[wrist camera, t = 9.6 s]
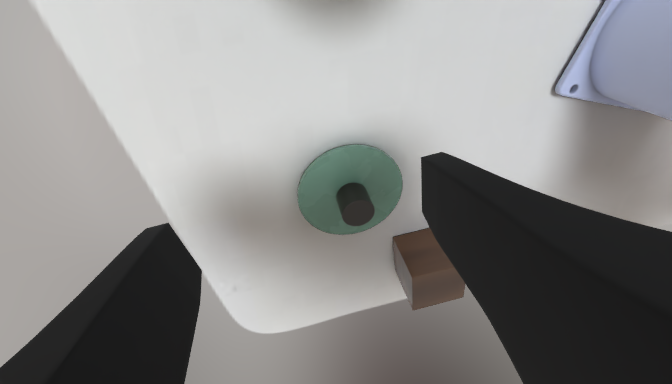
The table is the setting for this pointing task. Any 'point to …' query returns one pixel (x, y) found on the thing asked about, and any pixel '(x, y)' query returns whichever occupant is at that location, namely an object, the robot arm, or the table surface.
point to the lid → (349, 189)
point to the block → (425, 270)
